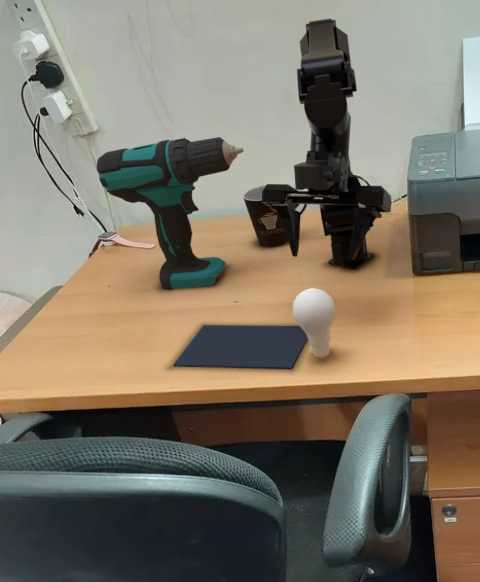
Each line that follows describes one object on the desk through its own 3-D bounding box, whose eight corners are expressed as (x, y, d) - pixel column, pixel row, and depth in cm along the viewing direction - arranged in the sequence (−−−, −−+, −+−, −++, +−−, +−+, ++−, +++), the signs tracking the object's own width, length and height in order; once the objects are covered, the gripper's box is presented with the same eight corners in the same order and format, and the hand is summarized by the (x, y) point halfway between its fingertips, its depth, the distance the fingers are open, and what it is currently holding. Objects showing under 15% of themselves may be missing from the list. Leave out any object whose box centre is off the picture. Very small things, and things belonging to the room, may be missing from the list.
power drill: (274, 262, 129) (245, 125, 113) (264, 283, 122) (232, 140, 106) (148, 271, 133) (103, 140, 117) (132, 292, 126) (82, 156, 110)
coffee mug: (247, 249, 135) (235, 200, 129) (263, 232, 142) (253, 185, 135) (299, 250, 132) (290, 200, 126) (314, 232, 138) (306, 184, 132)
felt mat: (313, 327, 107) (313, 326, 107) (292, 369, 98) (291, 367, 98) (203, 326, 112) (203, 325, 112) (173, 366, 103) (173, 364, 103)
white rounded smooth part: (306, 372, 97) (293, 305, 90) (298, 351, 102) (285, 286, 95) (346, 362, 98) (336, 294, 91) (337, 342, 103) (326, 277, 96)
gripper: (248, 133, 92) (243, 248, 95) (377, 132, 88) (369, 253, 90) (278, 154, 103) (273, 257, 105) (395, 154, 98) (387, 262, 101)
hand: (323, 257), depth 100 cm, fingers open, 9 cm apart
